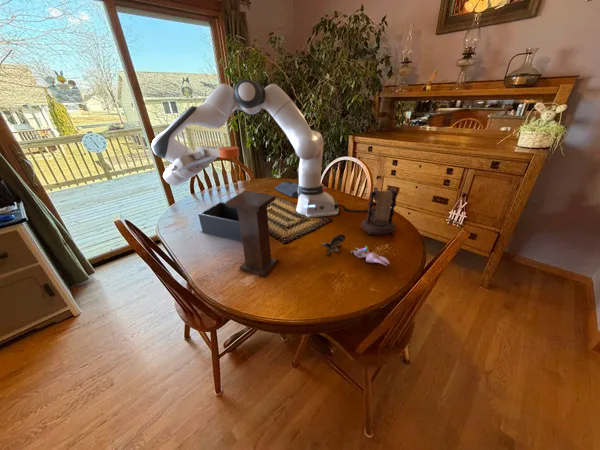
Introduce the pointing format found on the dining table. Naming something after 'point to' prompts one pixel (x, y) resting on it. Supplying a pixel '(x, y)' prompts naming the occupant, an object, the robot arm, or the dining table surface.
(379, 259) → the rabbit figure
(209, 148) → the extension cord
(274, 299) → the dining table surface
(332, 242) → the grey animal figurine
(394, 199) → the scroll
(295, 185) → the dark slate chunk
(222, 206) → the compartment
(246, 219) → the stand
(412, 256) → the dining table surface
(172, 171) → the robot arm
